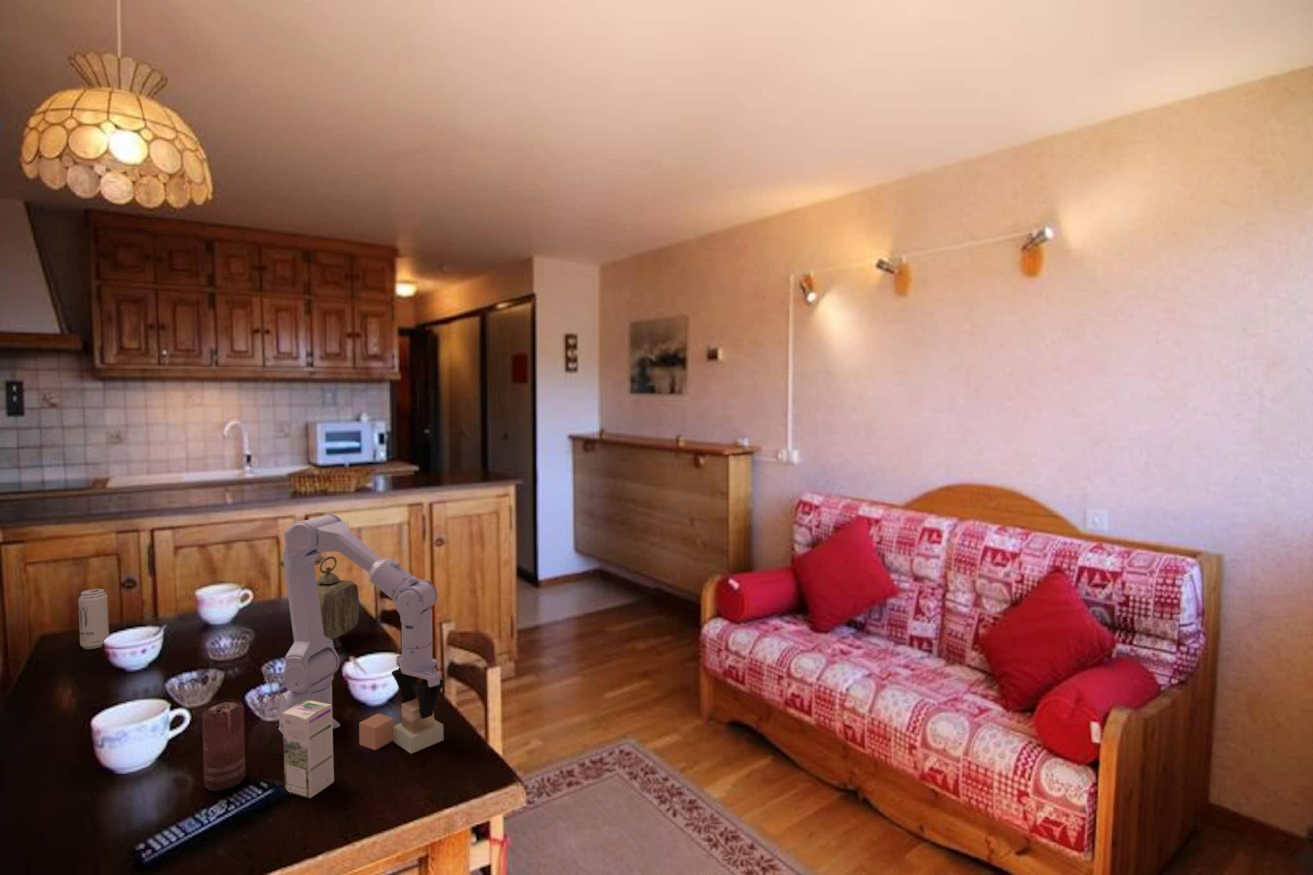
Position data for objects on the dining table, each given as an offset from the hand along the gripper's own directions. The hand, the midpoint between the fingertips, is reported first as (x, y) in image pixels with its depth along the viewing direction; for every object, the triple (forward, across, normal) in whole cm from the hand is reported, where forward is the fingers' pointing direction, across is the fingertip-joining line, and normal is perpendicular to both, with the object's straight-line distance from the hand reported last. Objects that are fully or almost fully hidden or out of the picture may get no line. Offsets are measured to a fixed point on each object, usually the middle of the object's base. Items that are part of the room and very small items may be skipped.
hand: (417, 710), depth 134 cm
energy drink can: (+6, +108, +39) cm, 115 cm away
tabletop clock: (+6, +63, -6) cm, 64 cm away
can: (+6, +10, +31) cm, 33 cm away
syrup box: (+6, -2, +21) cm, 22 cm away
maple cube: (+3, 0, 0) cm, 3 cm away
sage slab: (+7, 0, 0) cm, 7 cm away
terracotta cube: (+6, +5, +6) cm, 10 cm away
